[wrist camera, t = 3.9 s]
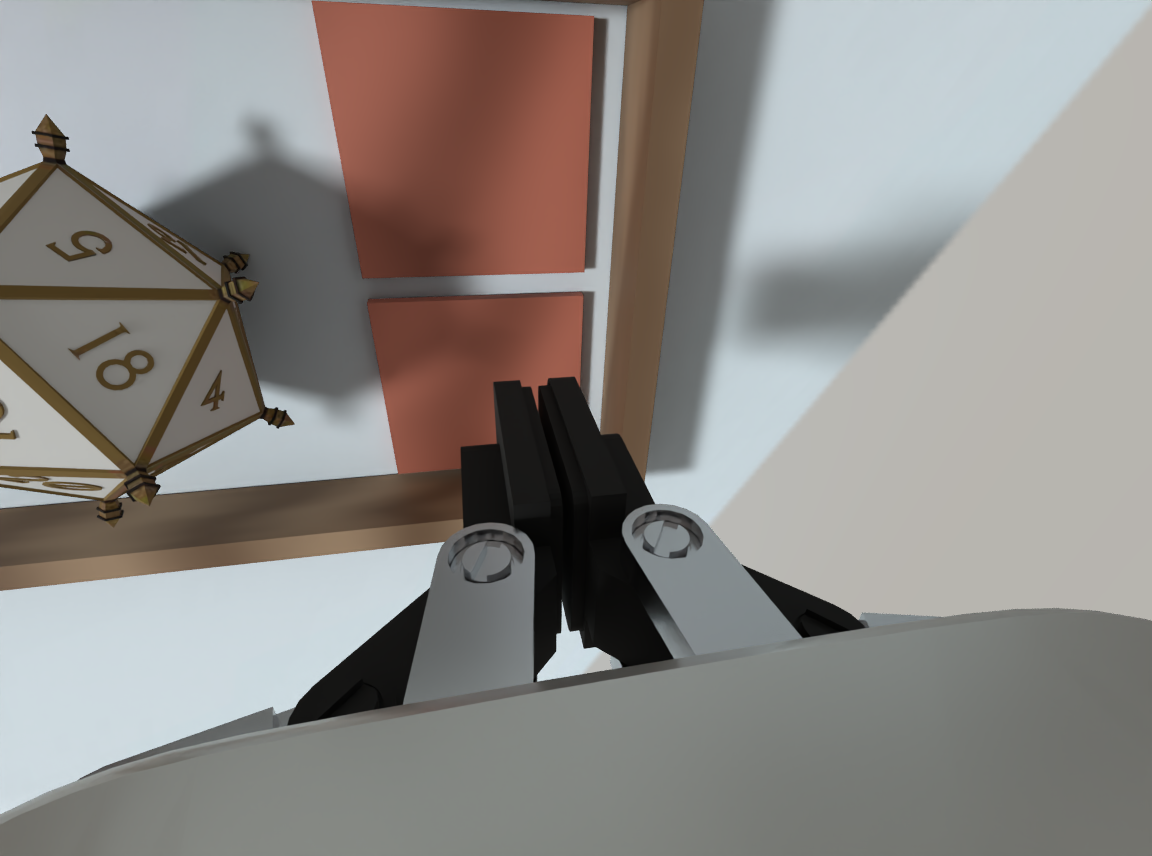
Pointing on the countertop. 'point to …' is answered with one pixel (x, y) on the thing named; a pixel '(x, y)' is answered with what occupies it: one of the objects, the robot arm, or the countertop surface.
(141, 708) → the countertop surface
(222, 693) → the countertop surface
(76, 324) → the game die
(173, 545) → the rectangular wooden frame
